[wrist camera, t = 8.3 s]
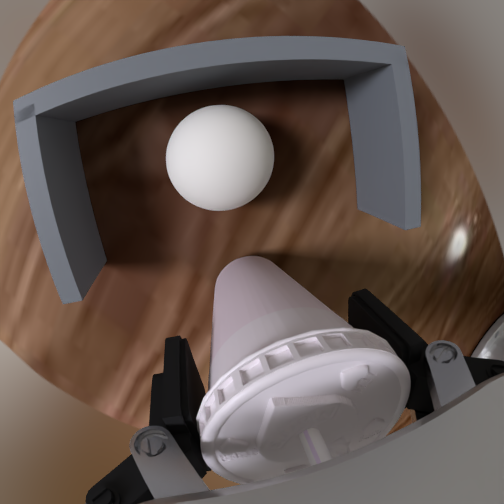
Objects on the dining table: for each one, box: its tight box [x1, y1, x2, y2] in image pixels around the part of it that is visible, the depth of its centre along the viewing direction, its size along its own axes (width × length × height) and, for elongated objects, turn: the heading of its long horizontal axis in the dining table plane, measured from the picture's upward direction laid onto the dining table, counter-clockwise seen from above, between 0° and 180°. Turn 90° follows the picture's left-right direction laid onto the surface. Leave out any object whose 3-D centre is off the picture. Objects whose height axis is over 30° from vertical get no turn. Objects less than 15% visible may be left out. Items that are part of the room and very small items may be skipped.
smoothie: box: [196, 256, 411, 484], centre depth 10 cm, size 6×6×14 cm
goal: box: [13, 36, 421, 304], centre depth 12 cm, size 16×8×4 cm, turn 99°
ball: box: [166, 105, 274, 211], centre depth 12 cm, size 4×4×4 cm
